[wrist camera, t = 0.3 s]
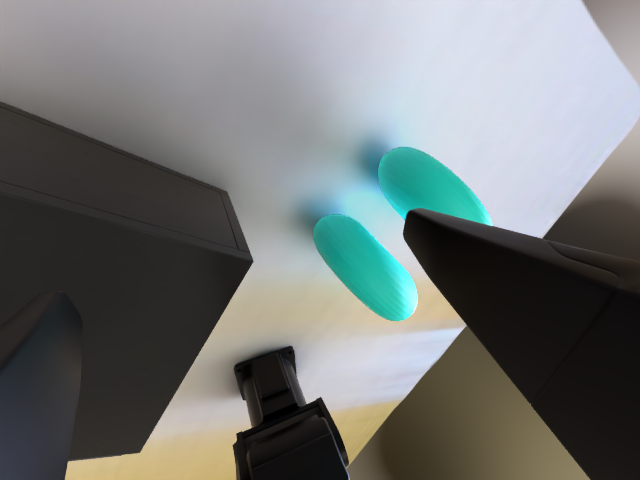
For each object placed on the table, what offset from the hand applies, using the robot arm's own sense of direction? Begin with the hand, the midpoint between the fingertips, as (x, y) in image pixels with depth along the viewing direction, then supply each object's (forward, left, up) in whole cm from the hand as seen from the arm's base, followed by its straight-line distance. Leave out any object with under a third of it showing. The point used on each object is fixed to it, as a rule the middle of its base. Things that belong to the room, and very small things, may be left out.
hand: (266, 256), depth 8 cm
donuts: (-8, -12, -15) cm, 20 cm away
